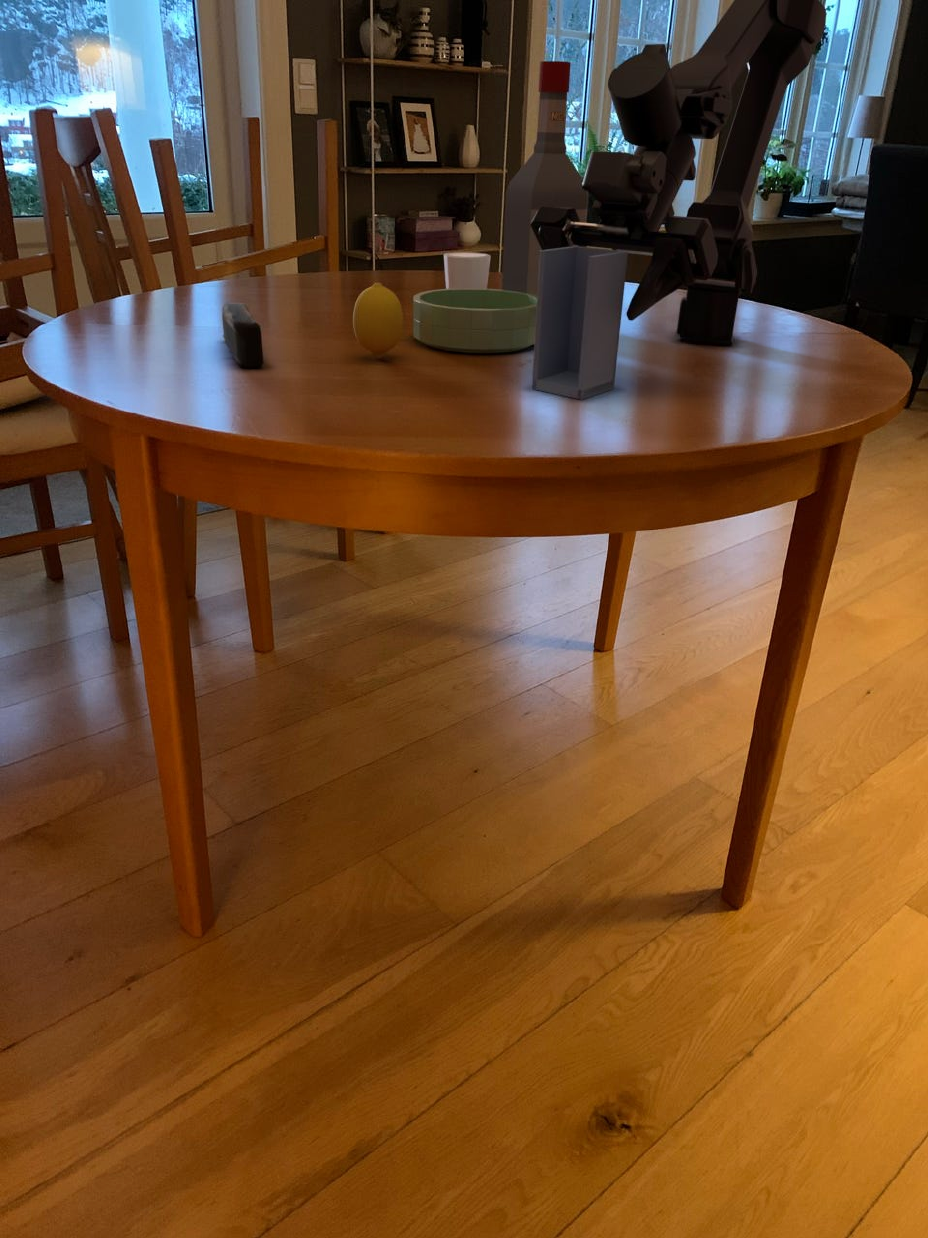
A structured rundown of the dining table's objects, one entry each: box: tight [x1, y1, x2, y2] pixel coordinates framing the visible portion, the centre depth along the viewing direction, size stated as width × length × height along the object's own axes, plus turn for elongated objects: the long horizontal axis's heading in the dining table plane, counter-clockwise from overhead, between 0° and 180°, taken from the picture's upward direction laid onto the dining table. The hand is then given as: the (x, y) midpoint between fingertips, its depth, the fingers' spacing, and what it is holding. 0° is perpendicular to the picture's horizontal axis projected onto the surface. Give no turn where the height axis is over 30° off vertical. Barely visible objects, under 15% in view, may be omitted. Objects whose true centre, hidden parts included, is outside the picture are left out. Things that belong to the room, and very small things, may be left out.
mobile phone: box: [221, 301, 264, 368], centre depth 99 cm, size 5×3×15 cm
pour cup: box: [531, 246, 629, 401], centre depth 87 cm, size 6×6×13 cm
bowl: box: [412, 288, 537, 354], centre depth 109 cm, size 16×16×5 cm
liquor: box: [501, 60, 590, 297], centre depth 113 cm, size 9×9×30 cm
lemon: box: [352, 282, 404, 359], centre depth 99 cm, size 6×6×8 cm
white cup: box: [443, 251, 492, 289], centre depth 130 cm, size 7×7×7 cm
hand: (586, 311), depth 88 cm, fingers open, 9 cm apart
